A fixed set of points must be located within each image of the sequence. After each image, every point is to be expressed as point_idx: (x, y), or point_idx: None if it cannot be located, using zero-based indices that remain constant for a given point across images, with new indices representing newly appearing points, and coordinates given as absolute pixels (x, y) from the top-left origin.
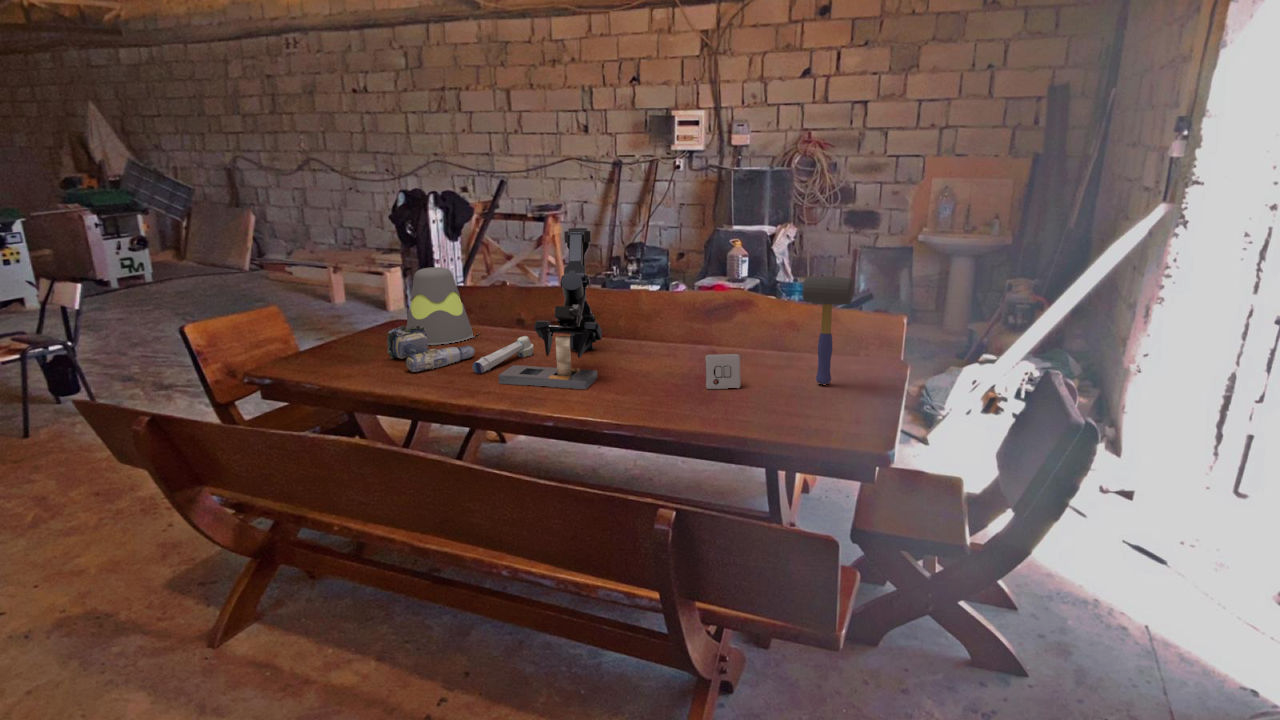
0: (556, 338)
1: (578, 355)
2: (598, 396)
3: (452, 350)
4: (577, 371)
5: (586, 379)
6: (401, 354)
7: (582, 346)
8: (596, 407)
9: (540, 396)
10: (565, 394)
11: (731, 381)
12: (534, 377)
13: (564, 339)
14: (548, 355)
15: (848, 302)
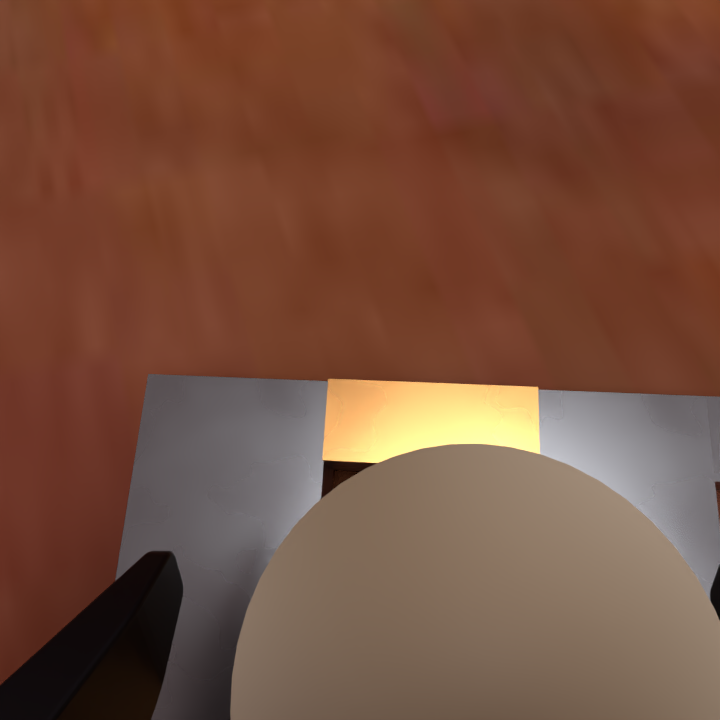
0: (656, 576)
1: (152, 551)
2: (54, 263)
3: None
4: None
5: (144, 421)
6: None
7: (2, 686)
8: (41, 71)
9: (491, 186)
10: (313, 261)
11: None
12: (698, 399)
13: (345, 488)
14: (715, 607)
15: None
